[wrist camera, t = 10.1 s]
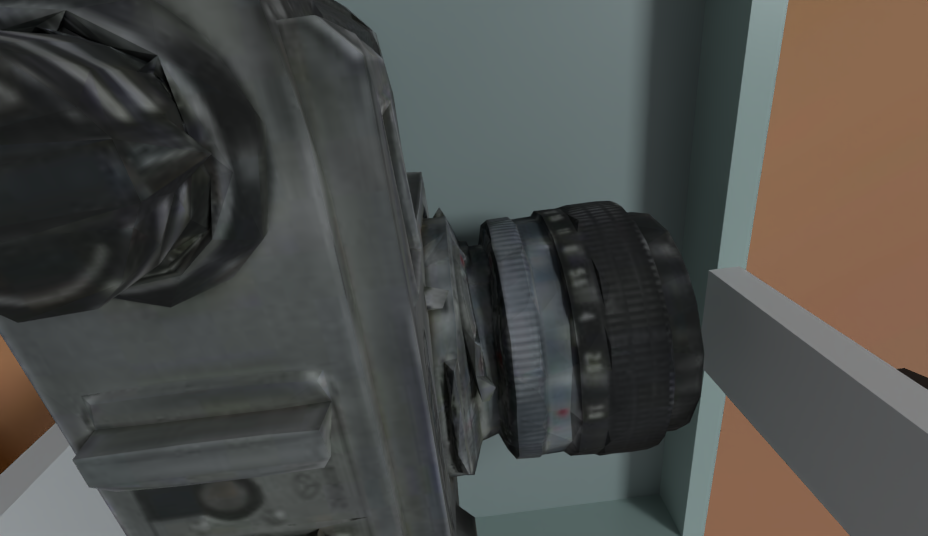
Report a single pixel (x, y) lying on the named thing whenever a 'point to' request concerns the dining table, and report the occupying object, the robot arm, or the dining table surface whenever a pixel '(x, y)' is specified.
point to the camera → (297, 281)
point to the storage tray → (590, 189)
